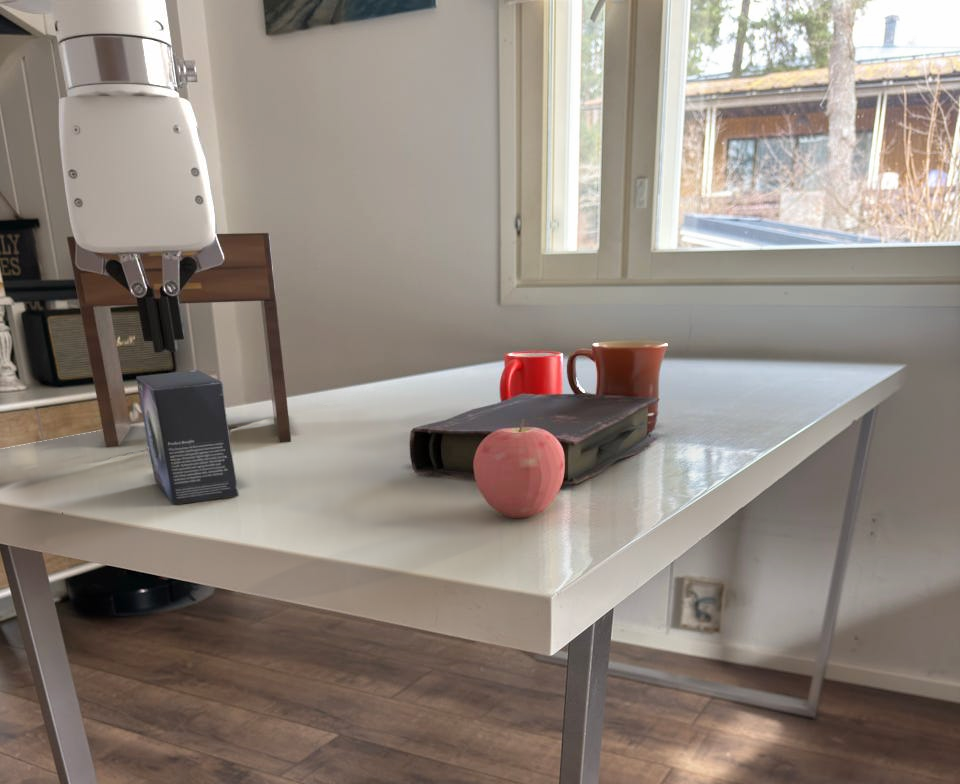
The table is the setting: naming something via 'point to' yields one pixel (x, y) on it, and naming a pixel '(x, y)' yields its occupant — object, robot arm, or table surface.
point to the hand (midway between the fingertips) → (166, 350)
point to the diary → (568, 417)
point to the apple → (519, 470)
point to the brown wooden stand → (229, 282)
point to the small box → (188, 436)
